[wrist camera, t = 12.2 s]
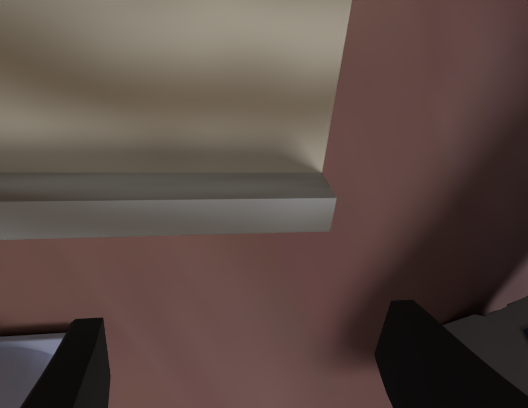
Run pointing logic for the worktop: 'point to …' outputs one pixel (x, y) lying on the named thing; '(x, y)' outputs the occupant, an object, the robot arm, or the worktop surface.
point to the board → (166, 116)
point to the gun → (499, 340)
